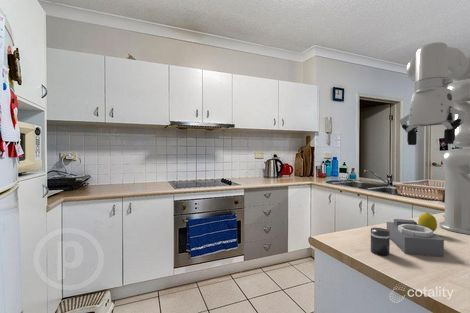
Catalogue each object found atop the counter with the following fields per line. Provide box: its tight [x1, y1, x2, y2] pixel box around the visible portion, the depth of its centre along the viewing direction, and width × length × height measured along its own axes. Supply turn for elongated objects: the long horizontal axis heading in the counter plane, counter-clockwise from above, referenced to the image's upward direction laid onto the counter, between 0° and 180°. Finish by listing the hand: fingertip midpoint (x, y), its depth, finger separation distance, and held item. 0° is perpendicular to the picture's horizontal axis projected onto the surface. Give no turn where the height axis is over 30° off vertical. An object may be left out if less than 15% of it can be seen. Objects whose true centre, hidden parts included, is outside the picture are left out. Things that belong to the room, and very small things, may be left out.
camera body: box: [386, 218, 445, 258], centre depth 79 cm, size 16×10×6 cm, turn 165°
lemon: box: [417, 212, 438, 233], centre depth 89 cm, size 6×6×8 cm
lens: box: [370, 227, 391, 257], centre depth 74 cm, size 5×5×7 cm
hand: (429, 144), depth 72 cm, fingers open, 9 cm apart
